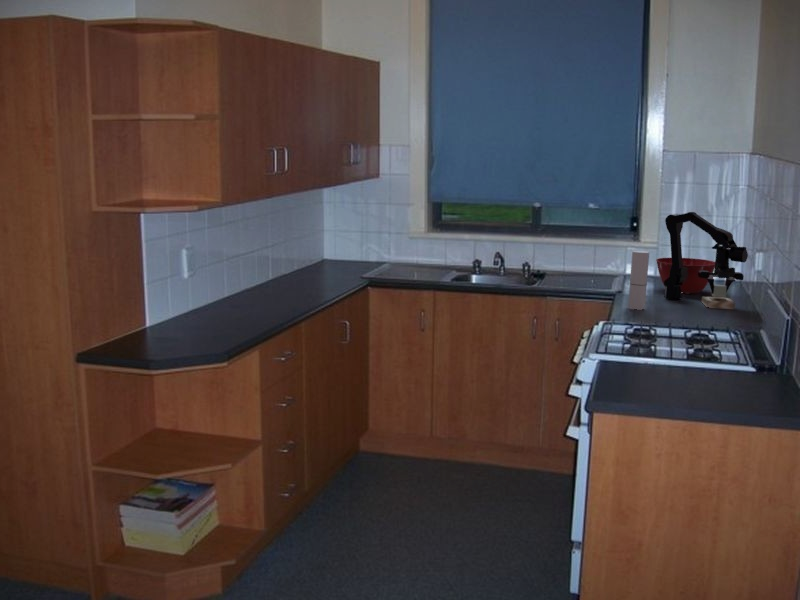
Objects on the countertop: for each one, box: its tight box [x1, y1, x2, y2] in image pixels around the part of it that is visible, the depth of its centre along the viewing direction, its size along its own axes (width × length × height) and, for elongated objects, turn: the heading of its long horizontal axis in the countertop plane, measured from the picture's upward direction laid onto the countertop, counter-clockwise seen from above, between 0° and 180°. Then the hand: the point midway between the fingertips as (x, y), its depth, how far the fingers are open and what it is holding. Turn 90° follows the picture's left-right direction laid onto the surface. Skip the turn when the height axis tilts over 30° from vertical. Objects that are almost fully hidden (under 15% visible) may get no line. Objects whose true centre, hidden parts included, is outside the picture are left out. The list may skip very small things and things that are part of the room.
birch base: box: [701, 296, 736, 310], centre depth 404 cm, size 12×12×3 cm
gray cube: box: [711, 283, 727, 298], centre depth 403 cm, size 5×5×5 cm
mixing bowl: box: [655, 257, 715, 294], centre depth 439 cm, size 28×28×16 cm
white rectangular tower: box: [627, 250, 650, 311], centre depth 390 cm, size 7×7×25 cm
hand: (718, 294), depth 403 cm, fingers closed on gray cube, 5 cm apart
